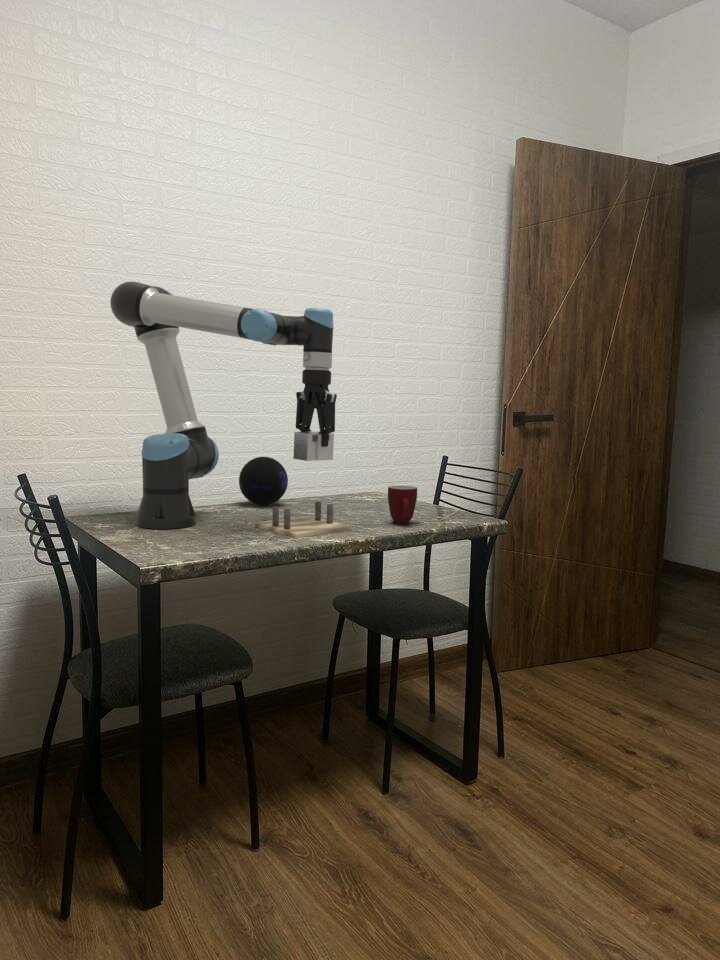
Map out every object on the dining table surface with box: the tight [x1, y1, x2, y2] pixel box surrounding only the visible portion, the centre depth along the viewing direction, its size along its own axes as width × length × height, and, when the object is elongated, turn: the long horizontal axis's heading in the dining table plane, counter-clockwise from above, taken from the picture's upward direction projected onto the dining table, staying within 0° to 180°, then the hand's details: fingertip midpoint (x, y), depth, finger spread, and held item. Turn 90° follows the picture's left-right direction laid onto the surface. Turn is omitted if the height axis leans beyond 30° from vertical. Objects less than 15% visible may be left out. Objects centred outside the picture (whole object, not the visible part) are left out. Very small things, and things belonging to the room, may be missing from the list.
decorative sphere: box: [238, 456, 289, 506], centre depth 226 cm, size 15×15×15 cm
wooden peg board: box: [254, 501, 353, 539], centre depth 191 cm, size 18×18×6 cm
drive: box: [292, 431, 335, 462], centre depth 193 cm, size 6×9×7 cm, turn 134°
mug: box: [387, 484, 418, 525], centre depth 200 cm, size 10×8×10 cm
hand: (313, 457), depth 194 cm, fingers closed on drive, 6 cm apart
